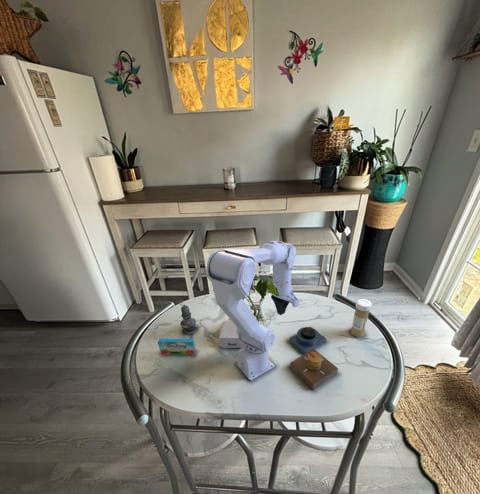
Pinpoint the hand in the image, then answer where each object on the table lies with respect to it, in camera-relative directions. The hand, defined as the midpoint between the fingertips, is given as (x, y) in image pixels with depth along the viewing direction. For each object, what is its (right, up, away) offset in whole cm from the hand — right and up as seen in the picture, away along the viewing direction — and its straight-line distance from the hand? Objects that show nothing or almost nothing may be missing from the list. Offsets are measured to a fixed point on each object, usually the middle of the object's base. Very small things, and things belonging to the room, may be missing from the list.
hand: (281, 313), depth 92 cm
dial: (+8, -15, -10) cm, 20 cm away
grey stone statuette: (-33, -8, +12) cm, 36 cm away
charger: (-16, -8, +9) cm, 20 cm away
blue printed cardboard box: (-35, -14, +2) cm, 38 cm away
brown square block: (+9, -17, -8) cm, 21 cm away
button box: (+9, -10, +2) cm, 14 cm away
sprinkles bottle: (+28, -8, +4) cm, 29 cm away
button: (+9, -8, +1) cm, 12 cm away
